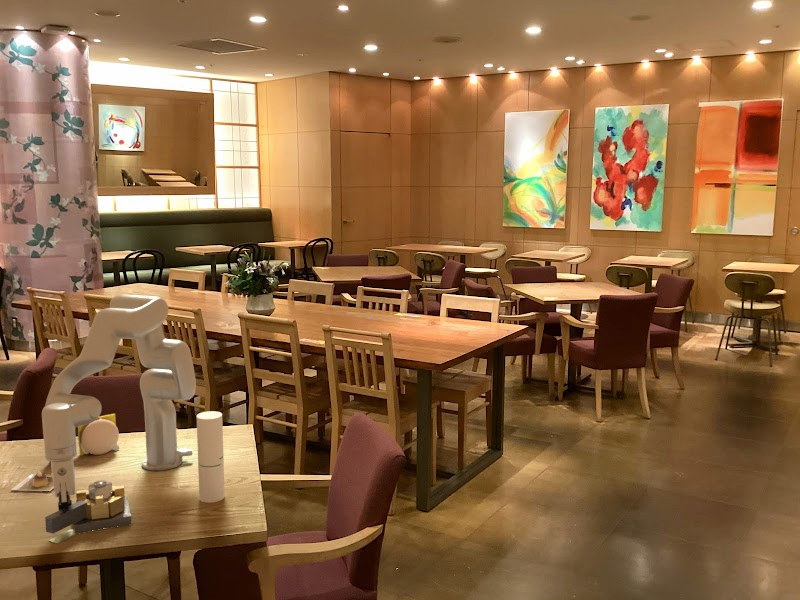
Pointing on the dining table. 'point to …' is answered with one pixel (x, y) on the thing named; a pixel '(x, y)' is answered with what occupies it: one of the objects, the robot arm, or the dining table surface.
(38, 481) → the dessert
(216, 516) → the dining table surface
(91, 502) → the ring nut
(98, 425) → the hamburger
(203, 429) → the cylindrical container
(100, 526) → the housing
